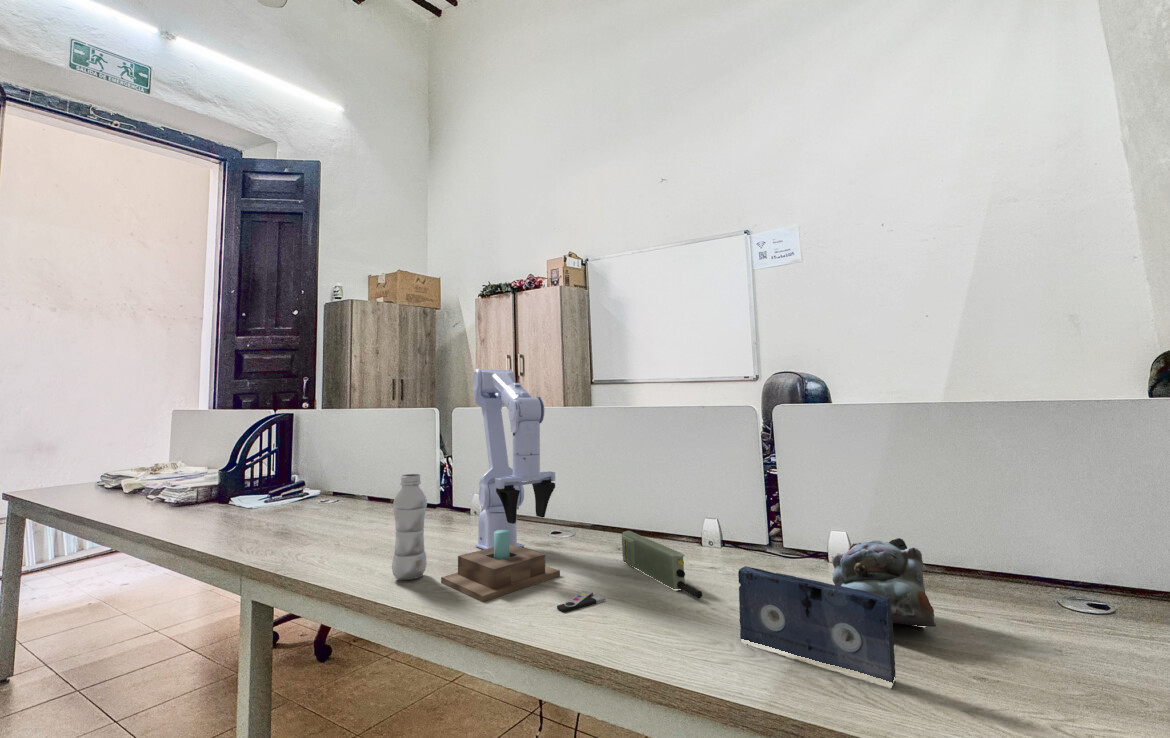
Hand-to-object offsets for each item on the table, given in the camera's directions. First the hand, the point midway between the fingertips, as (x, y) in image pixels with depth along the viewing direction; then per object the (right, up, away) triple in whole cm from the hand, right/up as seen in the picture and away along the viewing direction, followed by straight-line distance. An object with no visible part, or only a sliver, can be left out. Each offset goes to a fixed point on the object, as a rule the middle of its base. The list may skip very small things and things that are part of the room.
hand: (526, 519), depth 103 cm
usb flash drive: (+11, -9, -19) cm, 24 cm away
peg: (-4, -8, -7) cm, 12 cm away
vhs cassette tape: (+42, -6, -39) cm, 58 cm away
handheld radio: (+27, -9, -8) cm, 29 cm away
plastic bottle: (-22, -10, -6) cm, 25 cm away
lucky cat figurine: (+56, -7, -28) cm, 63 cm away
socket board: (-4, -9, -7) cm, 12 cm away
